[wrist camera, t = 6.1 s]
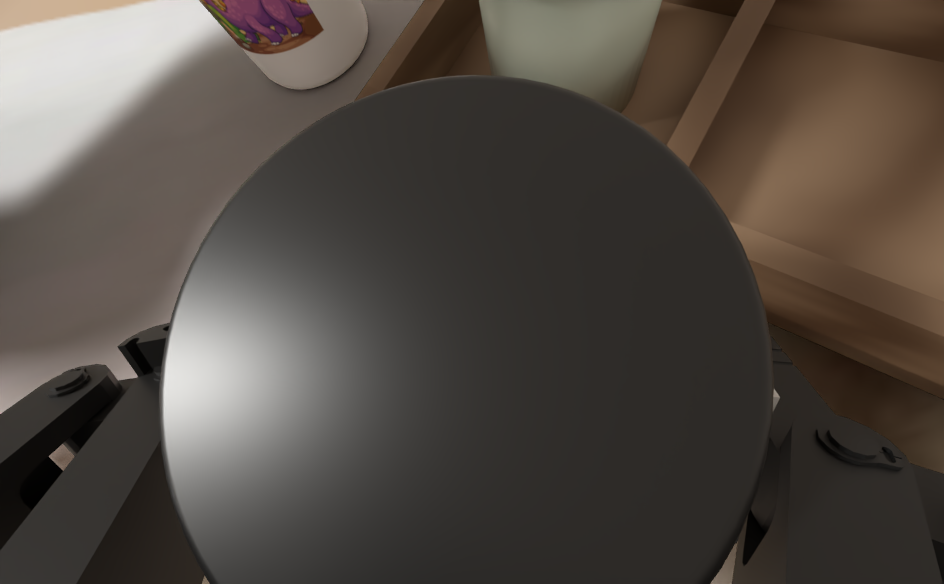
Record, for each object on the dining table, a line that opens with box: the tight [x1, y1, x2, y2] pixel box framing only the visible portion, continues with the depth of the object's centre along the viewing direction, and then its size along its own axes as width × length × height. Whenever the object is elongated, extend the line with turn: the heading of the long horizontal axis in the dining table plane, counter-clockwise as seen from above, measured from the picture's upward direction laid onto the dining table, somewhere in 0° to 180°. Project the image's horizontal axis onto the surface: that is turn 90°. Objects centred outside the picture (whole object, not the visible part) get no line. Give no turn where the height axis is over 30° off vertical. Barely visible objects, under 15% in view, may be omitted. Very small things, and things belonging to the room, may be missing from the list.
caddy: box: [355, 0, 944, 399], centre depth 15 cm, size 27×14×4 cm, turn 59°
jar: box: [159, 75, 774, 584], centre depth 10 cm, size 9×8×12 cm
